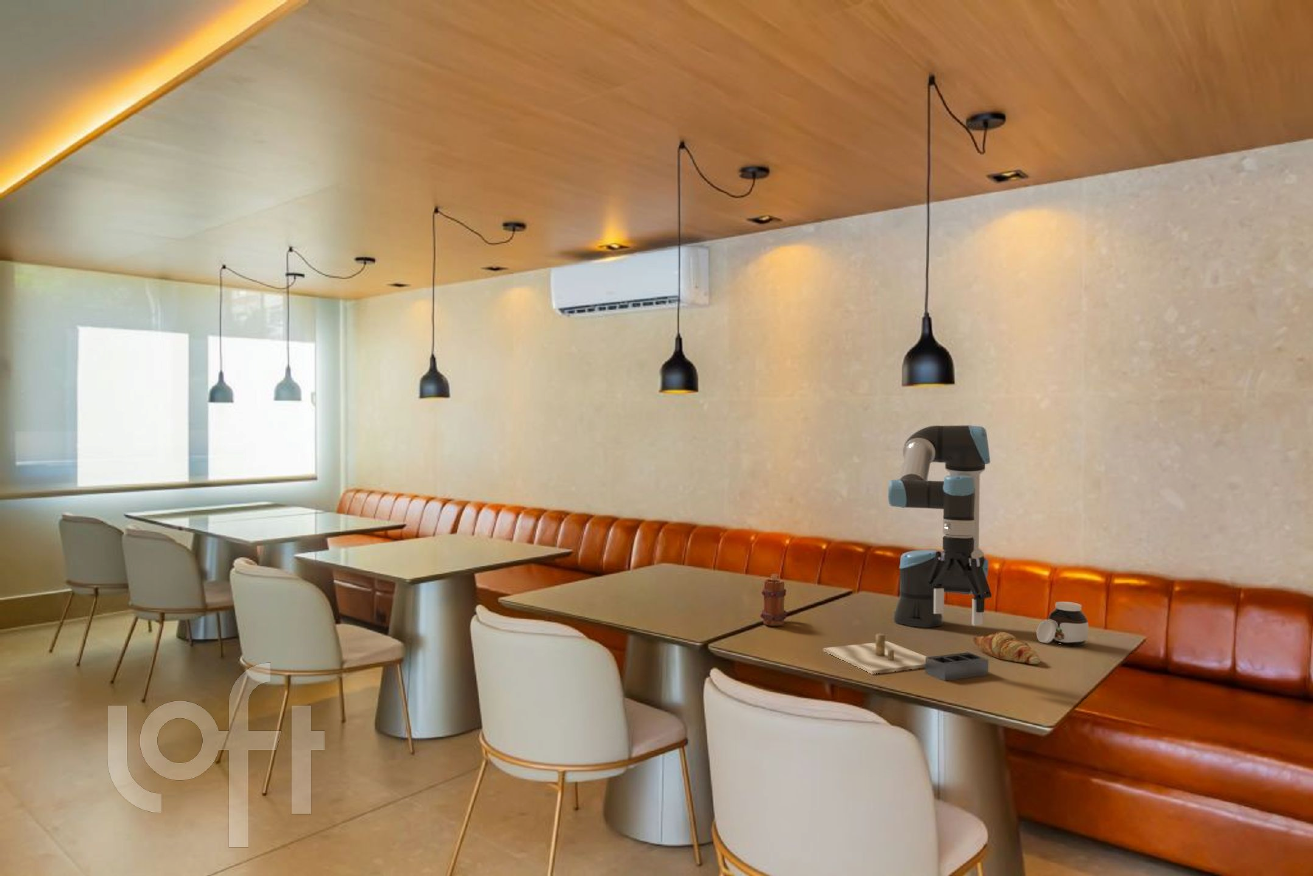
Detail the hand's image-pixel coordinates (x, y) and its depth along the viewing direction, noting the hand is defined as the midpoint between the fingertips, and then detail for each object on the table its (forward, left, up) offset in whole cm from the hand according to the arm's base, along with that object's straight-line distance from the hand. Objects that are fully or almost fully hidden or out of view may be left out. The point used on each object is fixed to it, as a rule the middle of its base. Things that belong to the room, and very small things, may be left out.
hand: (957, 619), depth 201 cm
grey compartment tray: (0, 0, -14) cm, 14 cm away
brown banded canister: (+17, -63, -14) cm, 67 cm away
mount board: (+10, -18, -14) cm, 25 cm away
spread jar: (-51, -13, -14) cm, 55 cm away
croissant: (-25, -8, -15) cm, 30 cm away
